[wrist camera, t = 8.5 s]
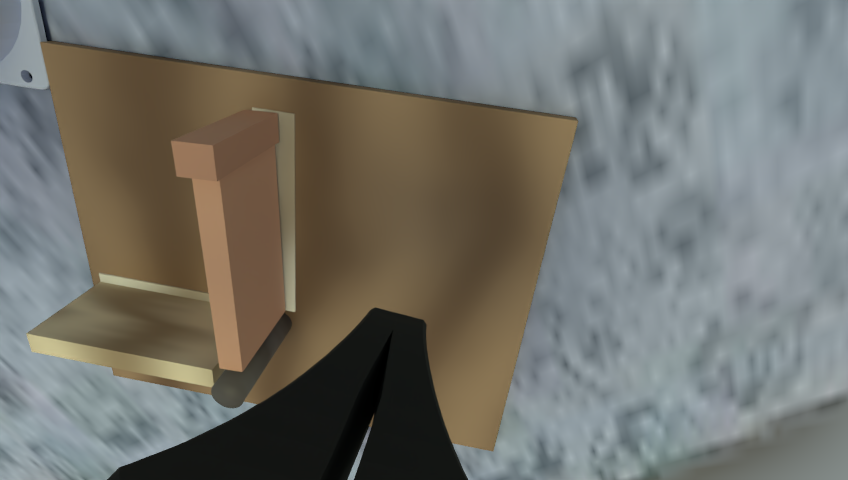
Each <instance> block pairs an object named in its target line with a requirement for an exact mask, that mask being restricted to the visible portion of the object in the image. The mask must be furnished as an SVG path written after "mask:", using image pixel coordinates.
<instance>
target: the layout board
mask: <svg viewBox="0 0 848 480" xmlns="http://www.w3.org/2000/svg"><path fill="white" fill-rule="evenodd" d="M40 44H41V49H42V53H43V58H44V63H45V67H46V72H47V76H48V81H49V85H50V90H51V94H52V99H53V103H54V108H55V112H56V117H57V121H58V126H59V130H60V135H61V139H62V144H63V148H64V153H65V157H66V162H67V167H68V171H69V176H70V180H71V185H72V189H73V194H74V198H75V203H76V207H77V212H78V216H79V221H80V225H81V230H82V234H83V239H84V243H85V248H86V252H87V257H88V261H89V266H90V271H91V275H92V280H93V284H94V286H95V285H97V284H98V283H99V282H105V283H110V284H115V285H121V286H126V287H132V288H137V289H142V290H148V291H153V292H159V293H164V294H169V295H175V296H180V297H186V298H191V299H196V300H202V301H207V302H210V299H209V293H208V286H207V279H206V272H205V265H204V258H203V251H202V245H201V238H200V231H199V224H198V217H197V210H196V203H195V197H194V190H193V183H192V178H184V177H177V176H176V169H175V163H174V157H173V151H172V144H171V140H174V139H176V138H178V137H181V136H183V135H185V134H188V133H190V132H193V131H195V130H197V129H200V128H202V127H204V126H207V125H209V124H211V123H214V122H216V121H219V120H221V119H223V118H226V117H228V116H230V115H233V114H235V113H237V112H240V111H242V110H254V111H263V112H272V113H277V114H278V130H279V143H277V144H275V155H276V171H277V187H278V202H279V218H280V233H281V249H282V264H283V280H284V295H285V312H284V313H285V314H287V315H288V316H289V318H290V319H291V322H292V327H291V329H290V331H289V332H288V334H287V335H286V337H285V338H284V340H283V341H282V343H281V344H280V346H279V348H278V349H277V351H276V352H275V354H274V355H273V357H272V358H271V360H270V362H269V363H268V365H267V366H266V368H265V369H264V371H263V372H262V374H261V375H260V377H259V379H258V380H257V382H256V383H255V385H254V386H253V388H252V389H251V391H250V392H249V394H248V396H247V397H246V399H245V400H244V401H245V402H250V403H255V404H259V403H261V402H262V401H264V400H266V399H267V398H269V397H271V396H272V395H274V394H275V393H277V392H278V391H280V390H281V389H283V388H284V387H286V386H287V385H288V384H290V383H291V382H293V381H294V380H295V379H297V378H298V377H299V376H301V375H302V374H303V373H305V372H306V371H307V370H308V369H310V368H311V367H312V366H313V365H315V364H316V363H317V362H318V361H319V360H321V359H322V358H323V357H324V356H326V355H327V354H328V353H329V352H330V351H331V350H332V349H333V348H334V347H335V346H337V345H338V344H339V343H340V342H341V341H342V340H343V339H344V338H345V337H346V336H347V335H348V334H349V333H350V332H351V331H352V330H353V329H354V328H355V327H356V326H357V325H358V324H359V323H360V322H361V320H362V319H363V318H364V317H365V316H366V315H367V313H368V312H369V311H370V310H371V309H373V308H375V307H376V308H380V309H384V310H387V311H391V312H395V313H399V314H403V315H407V316H411V317H415V318H419V319H422V320H424V321H425V323H426V324H427V327H426V342H427V351H428V359H429V365H430V370H431V375H432V380H433V384H434V388H435V392H436V396H437V400H438V403H439V407H440V410H441V414H442V417H443V420H444V423H445V426H446V429H447V431H448V434H449V437H450V439H451V442H452V443H454V444H459V445H464V446H469V447H474V448H479V449H484V450H489V451H493V450H494V446H495V442H496V438H497V434H498V431H499V427H500V423H501V419H502V415H503V411H504V407H505V403H506V399H507V396H508V392H509V388H510V384H511V380H512V376H513V372H514V368H515V364H516V361H517V357H518V353H519V349H520V345H521V341H522V337H523V333H524V329H525V326H526V322H527V318H528V314H529V310H530V306H531V302H532V298H533V294H534V291H535V287H536V283H537V279H538V275H539V271H540V267H541V263H542V260H543V256H544V252H545V248H546V244H547V240H548V236H549V232H550V228H551V225H552V221H553V217H554V213H555V209H556V205H557V201H558V197H559V193H560V190H561V186H562V182H563V178H564V174H565V170H566V166H567V162H568V158H569V155H570V151H571V147H572V143H573V139H574V135H575V131H576V127H577V123H578V120H577V118H575V117H568V116H561V115H554V114H547V113H540V112H534V111H527V110H520V109H513V108H506V107H500V106H493V105H486V104H479V103H472V102H465V101H459V100H452V99H445V98H438V97H431V96H424V95H418V94H411V93H404V92H397V91H390V90H383V89H377V88H370V87H363V86H356V85H349V84H342V83H336V82H329V81H322V80H315V79H308V78H302V77H295V76H288V75H281V74H274V73H267V72H261V71H254V70H247V69H240V68H233V67H226V66H220V65H213V64H206V63H199V62H192V61H185V60H179V59H172V58H165V57H158V56H151V55H144V54H138V53H131V52H124V51H117V50H110V49H104V48H97V47H90V46H83V45H76V44H69V43H63V42H56V41H46V42H40ZM112 370H113V375H115V376H120V377H125V378H130V379H135V380H140V381H145V382H150V383H155V384H160V385H165V386H170V387H175V388H180V389H185V390H190V391H195V392H200V393H205V394H210V395H212V394H211V389H212V387H207V386H202V385H197V384H192V383H187V382H182V381H177V380H172V379H167V378H162V377H157V376H152V375H147V374H142V373H137V372H132V371H127V370H122V369H117V368H112ZM373 418H374V415H373ZM373 418H372V420H371V423H370V425H369V427H372V423H373Z"/></svg>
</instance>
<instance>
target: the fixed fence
mask: <svg viewBox="0 0 848 480" xmlns="http://www.w3.org/2000/svg"><path fill="white" fill-rule="evenodd" d="M291 327H292V322H291V319H290V318H289V316H288V315H287V314H285V313H284V314H283V315H282V316H281V318H280V319H279V321H278V322H277V324H276V325H275V326H274V328H273V329H272V331H271V332H270V334H269V335H268V337H267V338H266V339H265V341H264V342H263V344H262V345H261V347H260V348H259V349H258V351H257V352H256V354H255V355H254V357H253V358H252V359H251V361H250V362H249V364H248V365H247V367H246V368H245V369H244V371H243V372H239V371H232V370H226V369H220V368H219V361H218V354H217V347H216V341H215V334H214V327H213V320H212V313H211V306H210V302H207V301H202V300H196V299H191V298H186V297H180V296H175V295H169V294H164V293H159V292H153V291H148V290H142V289H137V288H132V287H126V286H121V285H115V284H110V283H105V282H99V283H98V284H97V285H95V286H94V287H92V288H91V289H89V290H88V291H87V292H85V293H84V294H82V295H81V296H79V297H78V298H77V299H75V300H74V301H72V302H71V303H69V304H68V305H67V306H65V307H64V308H62V309H61V310H59V311H58V312H57V313H55V314H54V315H52V316H51V317H49V318H48V319H47V320H45V321H44V322H42V323H41V324H39V325H38V326H37V327H35V328H34V329H32V330H31V331H29V332H28V333H27V337H28V341H29V344H30V347H31V350H32V352H36V353H41V354H46V355H51V356H56V357H61V358H66V359H71V360H76V361H81V362H86V363H91V364H96V365H102V366H107V367H112V368H117V369H122V370H127V371H132V372H137V373H142V374H147V375H152V376H157V377H162V378H167V379H172V380H177V381H182V382H187V383H192V384H197V385H202V386H207V387H212V389H211V394H212V396H213V398H214V399H215V401H216V402H218V403H219V404H220V405H222V406H224V407H227V408H237V407H239V406H241V405H242V403H243V402H244V400H245V399H246V397H247V396H248V394H249V392H250V391H251V389H252V388H253V386H254V385H255V383H256V382H257V380H258V379H259V377H260V375H261V374H262V372H263V371H264V369H265V368H266V366H267V365H268V363H269V362H270V360H271V358H272V357H273V355H274V354H275V352H276V351H277V349H278V348H279V346H280V344H281V343H282V341H283V340H284V338H285V337H286V335H287V334H288V332H289V331H290V329H291Z"/></svg>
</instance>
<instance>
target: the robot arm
mask: <svg viewBox="0 0 848 480" xmlns="http://www.w3.org/2000/svg"><path fill="white" fill-rule="evenodd" d="M46 41H47V39H46V35H45V30H44V25H43V21H42V16H41V11H40V7H39V2H38V0H0V83H1V84H7V85H14V86H20V87H27V88H33V89H39V90H45V89H50V85H49V81H48V76H47V72H46V67H45V63H44V58H43V53H42V49H41V44H40V42H46ZM29 72H30V73H31V75H32V79H31V78H30V76H29ZM426 327H427V324H426V323H425V321H424V320H422V319H419V318H415V317H411V316H407V315H403V314H399V313H395V312H391V311H387V310H384V309H380V308H376V307H375V308H373V309H371V310H370V311H369V312H368V313H367V315H366V316H365V317H364V318H363V319H362V320H361V322H360V323H359V324H358V325H357V326H356V327H355V328H354V329H353V330H352V331H351V332H350V333H349V334H348V335H347V336H346V337H345V338H344V339H343V340H342V341H341V342H340V343H339V344H338V345H337V346H335V347H334V348H333V349H332V350H331V351H330V352H329V353H328V354H327V355H326V356H324V357H323V358H322V359H321V360H319V361H318V362H317V363H316V364H315V365H313V366H312V367H311V368H310V369H308V370H307V371H306V372H305V373H303V374H302V375H301V376H299V377H298V378H297V379H295V380H294V381H293V382H291V383H290V384H288V385H287V386H286V387H284V388H283V389H281V390H280V391H278V392H277V393H275V394H274V395H272V396H271V397H269V398H267V399H266V400H264V401H262V402H261V403H259V404H257V405H256V406H254V407H252V408H251V409H249V410H247V411H246V412H244V413H242V414H240V415H239V416H237V417H235V418H233V419H231V420H229V421H227V422H225V423H223V424H221V425H219V426H217V427H215V428H213V429H211V430H209V431H207V432H205V433H203V434H201V435H199V436H197V437H194V438H192V439H190V440H188V441H186V442H184V443H181V444H179V445H177V446H175V447H172V448H169V449H167V450H164V451H162V452H159V453H157V454H154V455H151V456H149V457H146V458H144V459H141V460H138V461H136V462H133V463H130V464H128V465H125V466H122V467H119V468H118V469H117V470H116V471H115V472H114V473H113V474H112V475H111V476H110V477H109V478H108V479H107V480H347V479H348V476H349V474H350V472H351V469H352V467H353V464H354V462H355V459H356V457H357V455H358V452H359V450H360V447H361V445H362V442H363V440H364V437H365V435H366V432H367V430H368V428H369V425H370V423H371V420H372V418H373V415H374V418H373V423H372V428H371V431H370V434H369V437H368V440H367V443H366V446H365V449H364V452H363V455H362V458H361V461H360V464H359V467H358V470H357V473H356V475H355V478H354V480H468V478H467V476H466V474H465V472H464V470H463V468H462V466H461V464H460V461H459V459H458V457H457V454H456V452H455V450H454V447H453V445H452V442H451V439H450V437H449V434H448V431H447V429H446V426H445V423H444V420H443V417H442V414H441V410H440V407H439V403H438V400H437V396H436V392H435V388H434V384H433V380H432V375H431V370H430V365H429V359H428V351H427V342H426Z"/></svg>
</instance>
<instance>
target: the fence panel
mask: <svg viewBox="0 0 848 480" xmlns="http://www.w3.org/2000/svg"><path fill="white" fill-rule="evenodd" d="M277 143H279V130H278V114H277V113H272V112H263V111H254V110H242V111H240V112H237V113H235V114H233V115H230V116H228V117H226V118H223V119H221V120H219V121H216V122H214V123H211V124H209V125H207V126H204V127H202V128H200V129H197V130H195V131H193V132H190V133H188V134H185V135H183V136H181V137H178V138H176V139H174V140H171V144H172V151H173V157H174V163H175V169H176V176H177V177H184V178H192V183H193V190H194V197H195V203H196V210H197V217H198V224H199V231H200V238H201V245H202V251H203V258H204V265H205V272H206V279H207V286H208V293H209V299H210V306H211V313H212V320H213V327H214V334H215V341H216V347H217V354H218V361H219V368H220V369H226V370H232V371H239V372H243V371H244V369H245V368H246V367H247V365H248V364H249V362H250V361H251V359H252V358H253V357H254V355H255V354H256V352H257V351H258V349H259V348H260V347H261V345H262V344H263V342H264V341H265V339H266V338H267V337H268V335H269V334H270V332H271V331H272V329H273V328H274V326H275V325H276V324H277V322H278V321H279V319H280V318H281V316H282V315H283V314H284V312H285V295H284V280H283V264H282V249H281V233H280V218H279V202H278V187H277V171H276V155H275V144H277Z"/></svg>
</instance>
